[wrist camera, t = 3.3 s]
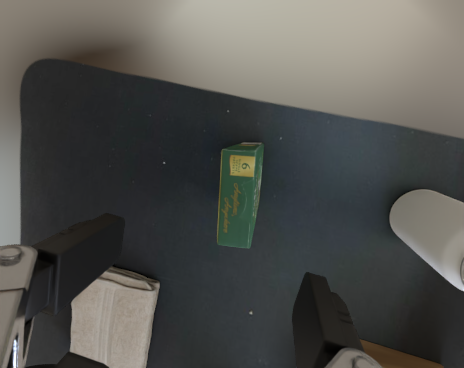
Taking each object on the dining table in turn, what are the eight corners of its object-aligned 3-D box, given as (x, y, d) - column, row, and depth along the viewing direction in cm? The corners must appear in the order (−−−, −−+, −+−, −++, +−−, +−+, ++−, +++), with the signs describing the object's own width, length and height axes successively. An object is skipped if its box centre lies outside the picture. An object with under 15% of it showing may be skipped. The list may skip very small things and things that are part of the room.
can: (375, 222, 32) (434, 278, 20) (412, 177, 30) (500, 210, 18) (422, 251, 31) (509, 324, 20) (462, 207, 30) (582, 260, 18)
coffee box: (241, 138, 32) (219, 147, 19) (265, 140, 32) (259, 150, 19) (237, 202, 34) (214, 248, 21) (259, 204, 33) (250, 253, 21)
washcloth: (163, 276, 38) (153, 289, 35) (149, 373, 42) (139, 392, 39) (87, 255, 39) (72, 266, 36) (81, 352, 43) (66, 368, 40)
